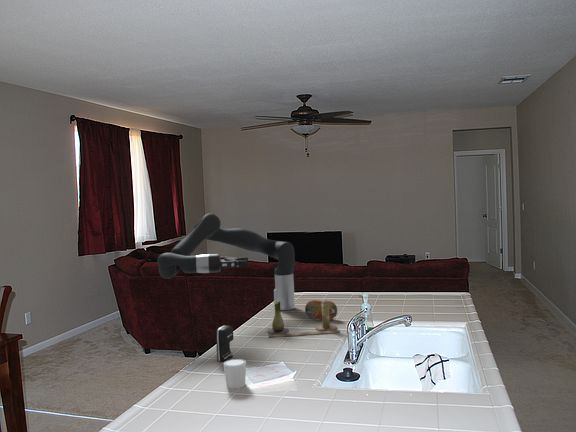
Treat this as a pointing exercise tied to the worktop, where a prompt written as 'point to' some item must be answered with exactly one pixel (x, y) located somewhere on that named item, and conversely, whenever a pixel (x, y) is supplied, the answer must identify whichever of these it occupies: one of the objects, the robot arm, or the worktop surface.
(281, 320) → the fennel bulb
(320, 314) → the tin
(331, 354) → the worktop surface
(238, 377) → the white cup
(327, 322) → the brown long irregular piece
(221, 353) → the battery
